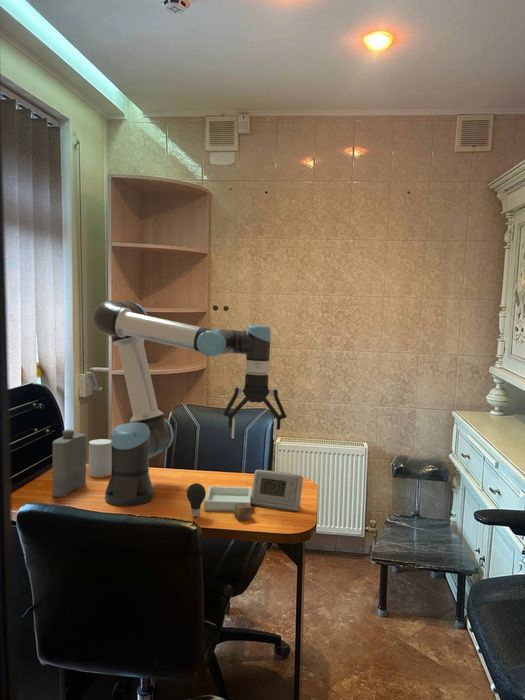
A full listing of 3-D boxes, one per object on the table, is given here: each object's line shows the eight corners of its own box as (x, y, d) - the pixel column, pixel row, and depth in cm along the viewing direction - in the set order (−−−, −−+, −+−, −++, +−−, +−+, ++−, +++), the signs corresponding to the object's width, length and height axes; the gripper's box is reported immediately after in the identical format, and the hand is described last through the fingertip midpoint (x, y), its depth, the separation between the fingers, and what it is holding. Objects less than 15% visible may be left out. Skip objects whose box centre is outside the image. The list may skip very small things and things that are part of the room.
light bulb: (206, 513, 156) (207, 481, 155) (202, 521, 150) (203, 487, 150) (188, 512, 157) (189, 480, 156) (183, 519, 151) (184, 486, 150)
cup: (106, 469, 197) (106, 438, 196) (115, 474, 191) (115, 442, 190) (84, 473, 192) (85, 441, 191) (93, 478, 186) (94, 445, 185)
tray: (204, 510, 158) (204, 501, 158) (208, 495, 172) (209, 486, 172) (250, 512, 158) (250, 502, 158) (251, 496, 172) (251, 487, 172)
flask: (73, 482, 181) (73, 425, 180) (88, 483, 180) (89, 426, 179) (46, 496, 167) (47, 434, 165) (62, 498, 165) (63, 436, 164)
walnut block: (238, 522, 151) (238, 508, 151) (234, 516, 155) (234, 503, 154) (251, 520, 152) (251, 507, 152) (247, 515, 156) (247, 502, 156)
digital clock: (247, 505, 165) (248, 472, 164) (261, 497, 173) (262, 465, 172) (293, 516, 157) (294, 481, 156) (306, 507, 164) (307, 474, 164)
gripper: (217, 372, 163) (214, 439, 164) (296, 376, 164) (293, 442, 165) (218, 370, 170) (215, 434, 172) (294, 373, 171) (290, 437, 173)
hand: (253, 438), depth 169 cm, fingers open, 13 cm apart
